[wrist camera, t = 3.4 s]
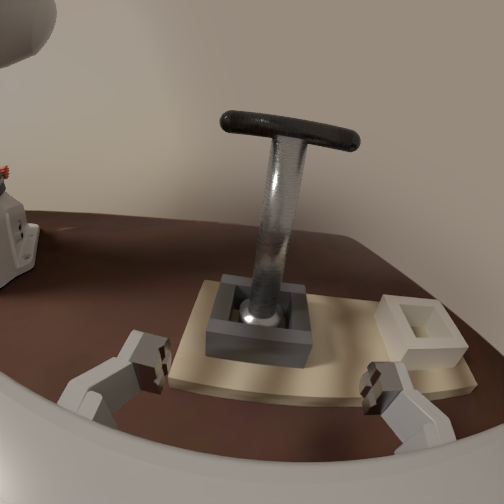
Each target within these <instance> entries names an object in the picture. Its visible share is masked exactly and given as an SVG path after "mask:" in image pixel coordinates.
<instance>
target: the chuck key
mask: <svg viewBox="0 0 504 504" xmlns="http://www.w3.org/2000/svg"><path fill="white" fill-rule="evenodd" d="M220 126H221V128H222V129H223V130H224V131H225V132H228V133H235V134H244V135H253V136H261V137H269V138H272V142H271V149H270V156H269V163H268V171H267V178H266V185H265V192H264V199H263V206H262V214H261V220H260V227H259V234H258V241H257V248H256V255H255V262H254V269H253V276H252V283H251V290H250V297H249V298H248V299H246V300H244V301H243V302H242V303H241V305H240V310H239V318H238V323H244V324H252V325H259V326H267V327H275V328H280V324H281V320H282V316H283V310H282V308H281V306H280V305H279V304H278V303H277V302H278V297H279V293H280V288H281V283H282V278H283V274H284V269H285V264H286V259H287V254H288V249H289V244H290V239H291V234H292V229H293V224H294V218H295V213H296V207H297V201H298V196H299V191H300V185H301V180H302V174H303V168H304V162H305V157H306V151H307V144H312V145H318V146H322V147H327V148H332V149H337V150H342V151H347V152H353V151H355V150H357V149H358V148H359V146H360V142H361V140H360V137H359V135H358V134H357V133H356V132H355V131H353V130H350V129H346V128H342V127H337V126H333V125H328V124H323V123H318V122H313V121H308V120H302V119H296V118H290V117H284V116H277V115H270V114H263V113H254V112H245V111H234V110H230V111H227V112H225V113H223V114H222V116H221V118H220Z"/></svg>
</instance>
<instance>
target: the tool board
mask: <svg viewBox="0 0 504 504" xmlns="http://www.w3.org/2000/svg"><path fill="white" fill-rule="evenodd" d="M251 283H252V278H247V277H240V276H234V275H227V274H223V275H222V278H221V281H220V282H217V281H210V280H204V282H203V284H202V287H201V290H200V292H199V295H198V297H197V300H196V302H195V305H194V308H193V310H192V313H191V316H190V318H189V321H188V323H187V326H186V329H185V331H184V334H183V337H182V339H181V342H180V345H179V348H178V350H177V353H176V356H175V359H174V361H173V364H172V367H171V370H170V373H169V375H168V381H169V386H170V388H174V389H179V390H183V391H188V392H193V393H198V394H203V395H209V396H215V397H221V398H227V399H234V400H241V401H249V402H258V403H268V404H279V405H293V406H313V407H362V401H363V399H364V398H363V397H362V396H361V395H360V393H359V382H360V378H361V376H362V375H363V374H364V373H365V372H367V371H368V369H367V366H368V365H369V363H371V362H380V361H390V358H389V356H388V353H387V350H386V347H385V345H384V342H383V339H382V337H381V334H380V331H379V329H378V326H377V324H376V321H375V318H374V314H375V312H376V309H377V307H378V305H379V302H376V301H366V300H356V299H347V298H338V297H329V296H320V295H312V294H306V289H305V285H299V284H291V283H284V282H282V283H281V288H280V293H279V297H278V302H277V303H278V304H279V305H280V306H281V308H282V310H283V316H282V320H281V324H280V328H275V327H267V326H259V325H252V324H244V323H238V318H239V310H240V305H241V303H242V302H243V301H244V300H246V299H248V298H249V297H250V290H251ZM410 327H411V326H410ZM411 329H412V331H413V333H414V335H415V337H416V338H429V336H428V334H427V332H426V330H425V328H424V327H411ZM407 372H408V375H409V377H410V380H411V383H412V385H413V388H414V390H418V391H419V392H420V393H421V394H422V395H423V396H424V397H426V398H427V399H428V400H429V401H432V400H438V399H445V398H451V397H456V396H461V395H466V394H470V393H471V392H472V391H473V390H474V388H475V387H476V386H477V383H476V381H475V379H474V377H473V375H472V373H471V371H470V369H469V367H468V365H467V363H466V361H465V359H464V358H463V356H462V357H461V359H460V360H459V362H458V363H457V364H456V366H455V367H454V368H443V369H429V370H411V371H407Z"/></svg>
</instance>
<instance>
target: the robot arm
mask: <svg viewBox="0 0 504 504" xmlns="http://www.w3.org/2000/svg"><path fill="white" fill-rule="evenodd" d="M56 15H57V11H56V4H55V2H54V0H0V68H4V67H8V66H10V65H12V64H14V63H17V62H19V61H21V60H24V59H26V58H29V57H31V56H33V55H36V54H37V53H38V52H39V50H40V49H41V48H42V47H43V46H44V45H45V43H46V42H47V40H48V39H49V37H50V35H51V33H52V31H53V29H54V25H55V22H56ZM7 167H8V166H4V167H1V168H0V288H1V287H3V286H4V285H6V284H7V283H8V282H9V281H11V280H12V279H13V278H15V277H16V276H18V275H20V274H22V273H24V272H26V271H28V270H30V269H32V268H33V267H34V265H35V257H36V250H37V244H38V238H39V233H40V228H39V225H37V224H27V220H26V215H25V210H24V207H23V205H22V204H21V203H20V202H19V201H17V200H16V199H14V198H13V197H11V196H10V195H9V194H8V193H6V192H5V189H6V187H5V184H4V179H7V178H8V175H9V173H8V172H9V170H8V169H9V168H7ZM169 347H170V340H169V339H168V338H164V337H160V336H156V335H152V334H149V333H144V332H140V331H136V330H133V331H132V332H131V333H130V335H129V337H128V339H127V340H126V342H125V344H124V346H123V348H122V349H121V351H120V353H119V355H118V357H117V358H115V357H113V358H111V359H109V360H107V361H106V362H104V363H102V364H100V365H98V366H96V367H95V368H93V369H91V370H89V371H87V372H85V373H84V374H82V375H80V376H78V377H76V378H74V379H72V380H71V381H69V383H68V385H67V387H66V388H65V390H64V392H63V394H62V395H61V397H60V399H59V401H58V402H57V404H55V403H53V402H51V401H49V400H47V399H46V398H44V397H42V396H40V395H38V394H36V393H35V392H33V391H31V390H29V389H28V388H26V387H24V386H23V385H21V384H19V383H18V382H16V381H14V380H13V379H11V378H10V377H8V376H7V375H5V374H4V373H2V372H1V371H0V504H504V423H503V424H500V425H498V426H496V427H493V428H491V429H488V430H486V431H483V432H480V433H478V434H475V435H472V436H469V437H466V438H463V439H460V440H456V437H455V434H454V431H453V428H452V425H451V422H450V419H449V418H448V417H447V416H446V415H445V414H444V413H442V412H441V411H440V410H439V409H438V408H437V407H436V406H435V405H433V404H432V403H431V402H430V401H429V400H428V399H427V398H426V397H424V396H423V395H422V394H421V393H420V392H419V391H418V390H414V388H413V385H412V383H411V380H410V377H409V375H408V372H407V369H406V367H405V364H404V363H403V362H402V361H393V362H391V361H380V362H371V363H369V365H368V366H367V369H368V371H367V372H365V373H364V374H363V375H362V376H361V378H360V382H359V393H360V395H361V396H362V397H363V398H364V399H363V401H362V407H363V412H364V415H381V416H382V417H383V419H384V420H385V421H386V422H387V424H388V425H389V426H390V428H391V429H392V430H393V431H394V433H395V434H396V435H397V436H398V438H399V439H400V440H401V441H402V443H403V444H402V445H401V446H400V447H398V448H397V449H396V450H395V451H394V453H395V455H392V456H385V457H378V458H370V459H361V460H350V461H335V462H277V461H262V460H250V459H241V458H233V457H226V456H219V455H213V454H207V453H201V452H196V451H191V450H186V449H182V448H178V447H173V446H169V445H165V444H161V443H158V442H154V441H150V440H147V439H144V438H140V437H137V436H134V435H131V434H128V433H125V432H122V431H119V430H117V429H118V425H117V423H116V421H115V420H114V418H113V416H112V413H113V412H115V411H116V410H117V409H119V408H120V407H121V406H123V405H124V404H125V403H126V402H128V401H129V400H130V399H132V398H133V397H134V396H135V395H137V394H138V393H139V392H140V391H141V390H143V391H147V392H151V393H155V394H160V395H161V392H162V389H163V386H164V384H165V379H164V376H165V375H167V374H168V372H169V370H170V366H171V352H170V351H169Z"/></svg>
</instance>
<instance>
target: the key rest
mask: <svg viewBox="0 0 504 504" xmlns="http://www.w3.org/2000/svg"><path fill="white" fill-rule="evenodd" d="M374 318H375V321H376V324H377V326H378V329H379V331H380V334H381V337H382V339H383V342H384V345H385V347H386V350H387V353H388V356H389V358H390V361H391V362H393V361H402V362H403V363H404V364H405V367H406V369H407V371H411V370H429V369H443V368H454V367H455V366H456V364H457V363H458V362H459V360H460V359H461V357H462V356H463V355H464V353H465V352H466V350H467V349H468V345H467V343H466V342H465V340H464V338H463V337H462V335H461V333H460V332H459V330H458V329H457V327H456V325H455V324H454V322H453V321H452V319H451V318H450V316H449V314H448V313H447V311H446V310H445V308H444V307H443V305H442V304H441V303H440V301H439V300H434V299H423V298H413V297H403V296H393V295H382V298H381V300H380V302H379V305H378V307H377V309H376V312H375V314H374ZM410 326H411V327H424V328H425V330H426V332H427V334H428V336H429V338H416V337H415V335H414V333H413V331H412V329H411V327H410Z"/></svg>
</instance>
